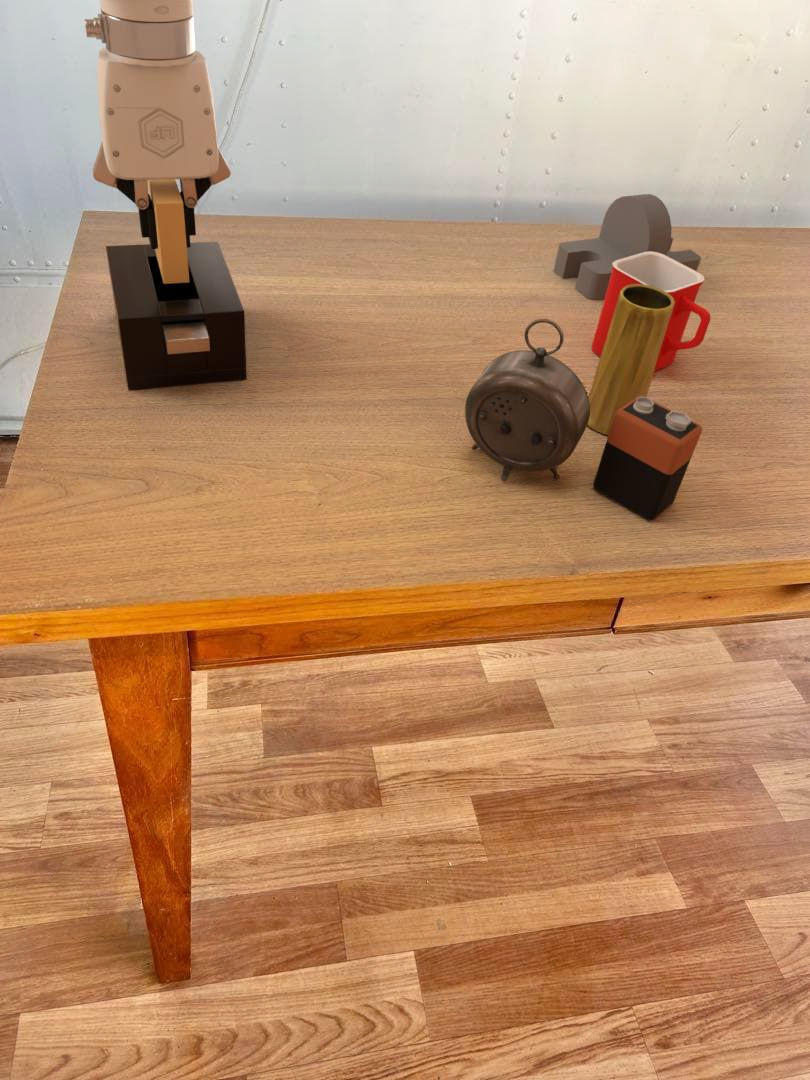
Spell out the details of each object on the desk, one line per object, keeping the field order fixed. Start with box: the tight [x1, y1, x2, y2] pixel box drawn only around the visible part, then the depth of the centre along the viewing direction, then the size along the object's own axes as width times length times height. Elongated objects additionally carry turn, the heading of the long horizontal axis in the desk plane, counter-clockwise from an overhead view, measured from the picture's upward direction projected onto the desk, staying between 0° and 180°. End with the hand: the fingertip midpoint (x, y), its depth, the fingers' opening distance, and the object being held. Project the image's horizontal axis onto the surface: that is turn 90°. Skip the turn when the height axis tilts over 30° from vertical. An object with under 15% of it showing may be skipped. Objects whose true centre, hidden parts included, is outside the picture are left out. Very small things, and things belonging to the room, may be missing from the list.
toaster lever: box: [163, 322, 210, 354], centre depth 83 cm, size 4×3×2 cm
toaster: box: [105, 240, 247, 391], centre depth 91 cm, size 12×16×8 cm
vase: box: [587, 284, 675, 436], centre depth 87 cm, size 6×6×14 cm
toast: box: [148, 179, 189, 284], centre depth 85 cm, size 2×8×8 cm, turn 18°
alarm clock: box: [464, 318, 590, 483], centre depth 78 cm, size 11×5×16 cm, turn 65°
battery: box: [592, 396, 703, 521], centre depth 79 cm, size 4×7×10 cm, turn 47°
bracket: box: [553, 193, 702, 301], centre depth 114 cm, size 10×18×11 cm, turn 116°
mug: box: [591, 251, 711, 372], centre depth 97 cm, size 12×8×11 cm
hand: (169, 241), depth 86 cm, fingers closed on toast, 2 cm apart
